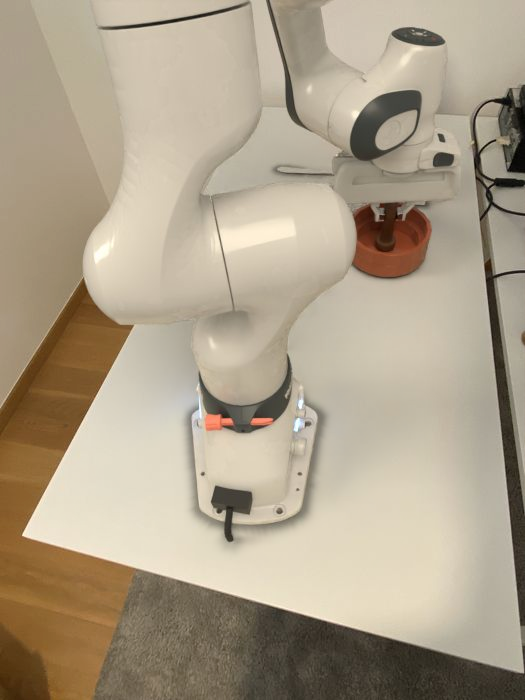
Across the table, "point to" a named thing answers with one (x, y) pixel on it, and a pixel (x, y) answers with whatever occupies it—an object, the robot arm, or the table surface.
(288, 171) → the fork
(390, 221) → the masher
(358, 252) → the bowl
